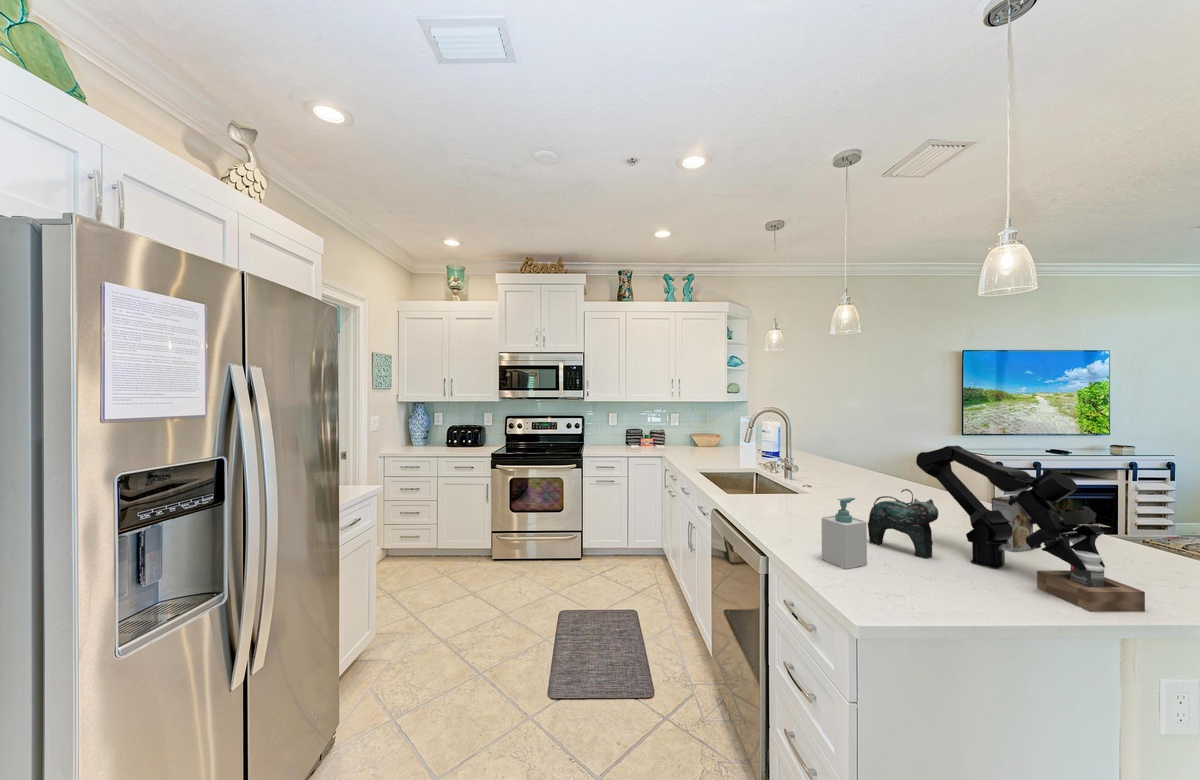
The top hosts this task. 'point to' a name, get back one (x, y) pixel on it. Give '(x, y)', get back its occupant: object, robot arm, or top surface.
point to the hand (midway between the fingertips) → (1093, 569)
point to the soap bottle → (844, 538)
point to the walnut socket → (1091, 592)
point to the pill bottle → (1088, 570)
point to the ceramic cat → (904, 522)
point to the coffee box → (1014, 524)
